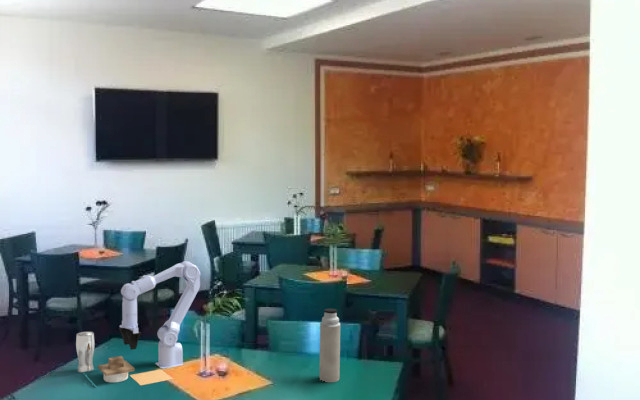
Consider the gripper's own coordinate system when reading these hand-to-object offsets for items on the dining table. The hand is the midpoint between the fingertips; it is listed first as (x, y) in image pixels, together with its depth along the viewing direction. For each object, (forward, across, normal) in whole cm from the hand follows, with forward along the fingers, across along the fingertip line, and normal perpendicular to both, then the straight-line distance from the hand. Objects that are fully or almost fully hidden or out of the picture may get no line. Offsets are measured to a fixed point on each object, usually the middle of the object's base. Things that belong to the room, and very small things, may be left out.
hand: (130, 346), depth 263 cm
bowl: (+10, +7, -8) cm, 15 cm away
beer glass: (+10, -10, -15) cm, 21 cm away
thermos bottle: (+10, +51, +63) cm, 82 cm away
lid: (+6, +7, -8) cm, 12 cm away
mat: (+10, +13, +4) cm, 17 cm away
